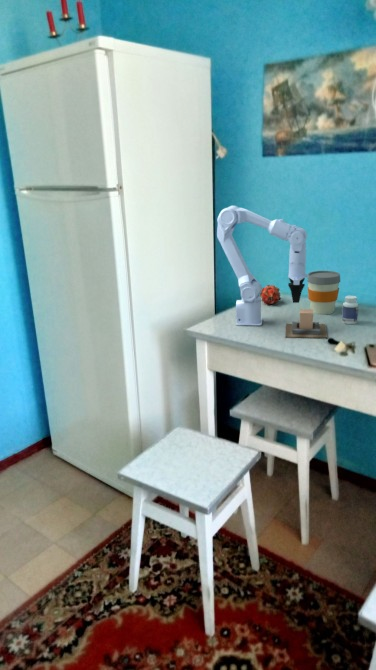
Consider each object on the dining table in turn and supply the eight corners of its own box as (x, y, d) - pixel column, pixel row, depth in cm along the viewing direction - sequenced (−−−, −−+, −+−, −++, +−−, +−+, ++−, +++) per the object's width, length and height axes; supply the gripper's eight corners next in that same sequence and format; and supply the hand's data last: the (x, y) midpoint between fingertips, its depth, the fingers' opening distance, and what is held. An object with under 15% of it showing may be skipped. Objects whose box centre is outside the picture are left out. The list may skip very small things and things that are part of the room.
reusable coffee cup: (306, 305, 201) (307, 270, 196) (338, 306, 198) (340, 270, 193) (305, 315, 190) (306, 277, 185) (339, 316, 186) (341, 277, 181)
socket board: (285, 337, 167) (285, 332, 167) (286, 324, 180) (286, 319, 179) (327, 338, 164) (327, 333, 164) (324, 325, 177) (325, 320, 176)
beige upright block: (299, 332, 170) (300, 313, 168) (299, 327, 175) (299, 309, 172) (312, 332, 170) (313, 313, 167) (312, 328, 174) (312, 309, 171)
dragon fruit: (272, 302, 214) (271, 314, 204) (256, 292, 213) (255, 303, 202) (283, 288, 210) (284, 299, 200) (267, 277, 209) (267, 288, 198)
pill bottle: (357, 324, 176) (359, 298, 173) (342, 324, 177) (344, 298, 174) (356, 320, 181) (357, 294, 178) (341, 319, 182) (342, 294, 179)
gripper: (309, 267, 164) (307, 305, 169) (308, 258, 177) (307, 294, 182) (287, 267, 166) (286, 304, 170) (289, 258, 179) (288, 294, 184)
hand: (296, 299), depth 176 cm, fingers open, 7 cm apart
